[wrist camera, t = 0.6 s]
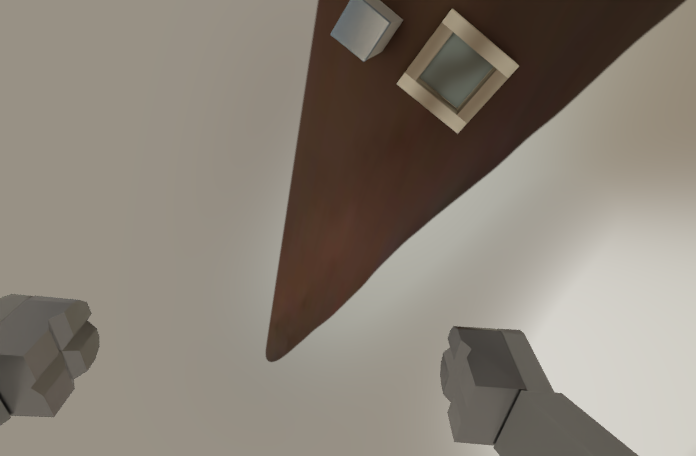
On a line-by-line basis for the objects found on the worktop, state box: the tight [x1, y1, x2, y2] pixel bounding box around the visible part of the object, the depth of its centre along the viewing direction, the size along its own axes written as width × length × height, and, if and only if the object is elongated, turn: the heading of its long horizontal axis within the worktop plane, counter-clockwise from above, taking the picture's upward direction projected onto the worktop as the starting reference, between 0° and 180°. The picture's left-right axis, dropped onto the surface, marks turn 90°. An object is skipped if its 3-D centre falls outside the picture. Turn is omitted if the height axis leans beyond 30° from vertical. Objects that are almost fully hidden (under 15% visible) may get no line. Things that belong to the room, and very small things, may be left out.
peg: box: [330, 0, 403, 62], centre depth 40 cm, size 4×4×10 cm
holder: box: [397, 8, 519, 134], centre depth 43 cm, size 9×9×4 cm
